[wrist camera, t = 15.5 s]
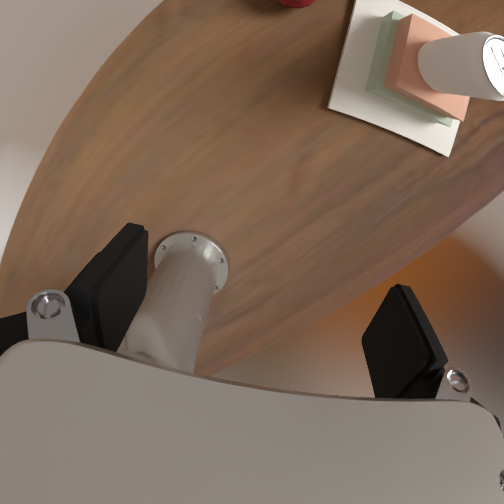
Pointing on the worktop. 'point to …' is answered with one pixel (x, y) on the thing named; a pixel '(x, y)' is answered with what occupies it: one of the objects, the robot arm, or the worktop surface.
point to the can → (465, 65)
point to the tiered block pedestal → (395, 75)
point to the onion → (296, 3)
